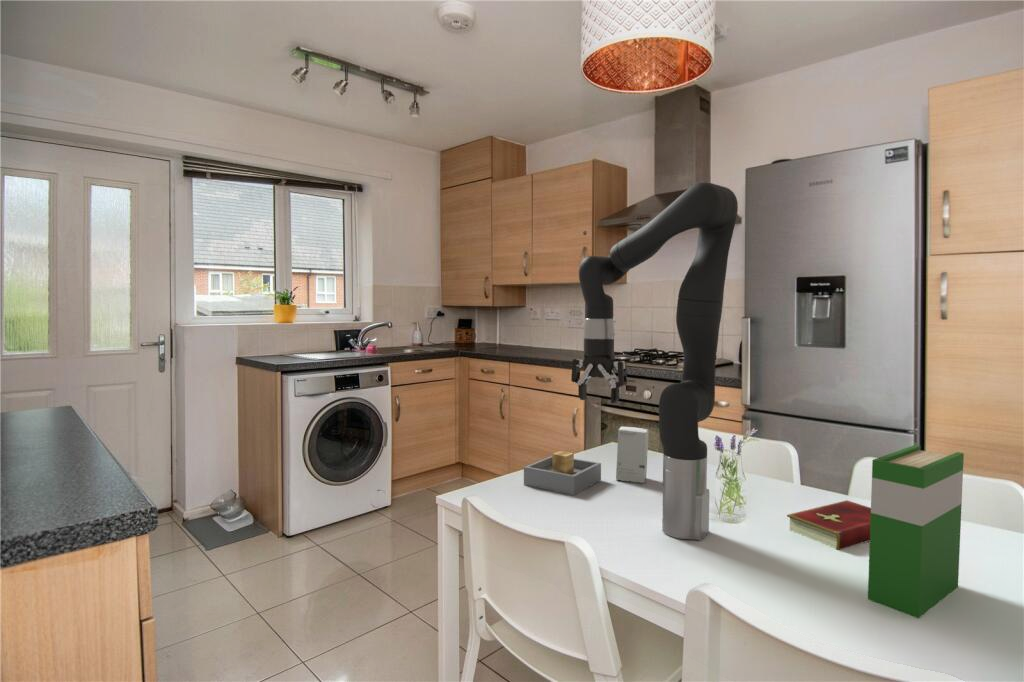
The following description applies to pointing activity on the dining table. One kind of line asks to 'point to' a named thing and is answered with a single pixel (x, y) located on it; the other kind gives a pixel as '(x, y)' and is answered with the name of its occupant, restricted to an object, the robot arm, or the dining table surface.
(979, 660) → the dining table surface
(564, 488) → the walled box
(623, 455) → the skincare box
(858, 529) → the hardcover book
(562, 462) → the block
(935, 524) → the hardback book
